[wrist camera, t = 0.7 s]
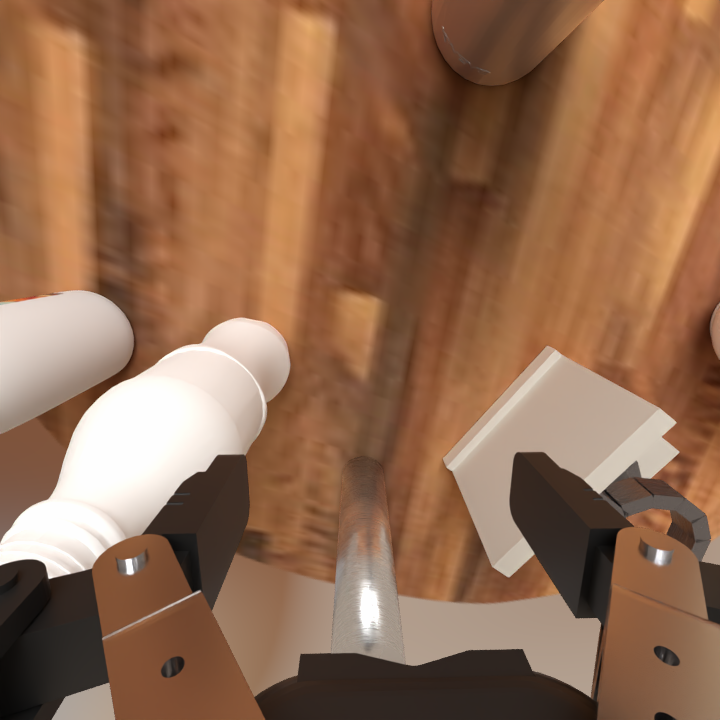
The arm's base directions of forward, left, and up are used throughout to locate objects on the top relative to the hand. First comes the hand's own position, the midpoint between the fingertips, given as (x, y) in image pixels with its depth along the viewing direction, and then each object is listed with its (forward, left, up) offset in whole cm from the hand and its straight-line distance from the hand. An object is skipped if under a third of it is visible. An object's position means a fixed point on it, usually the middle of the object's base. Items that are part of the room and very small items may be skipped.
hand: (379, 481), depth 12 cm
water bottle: (+8, -6, -23) cm, 25 cm away
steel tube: (+12, +9, -23) cm, 27 cm away
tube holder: (-1, +23, -23) cm, 32 cm away
